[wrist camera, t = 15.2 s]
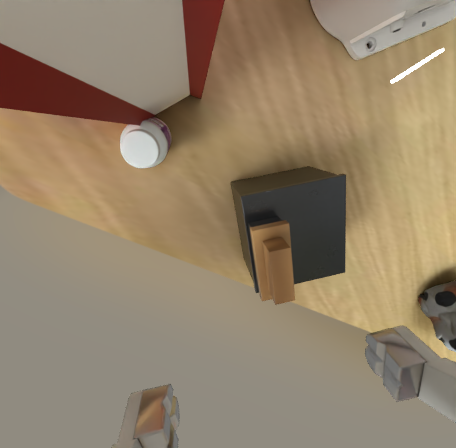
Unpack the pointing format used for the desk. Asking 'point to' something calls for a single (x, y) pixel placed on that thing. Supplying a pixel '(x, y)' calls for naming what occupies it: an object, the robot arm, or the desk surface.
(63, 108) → the book
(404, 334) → the robot arm
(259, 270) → the brush
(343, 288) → the desk surface
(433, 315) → the lucky cat figurine
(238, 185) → the cabinet
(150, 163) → the pill bottle
